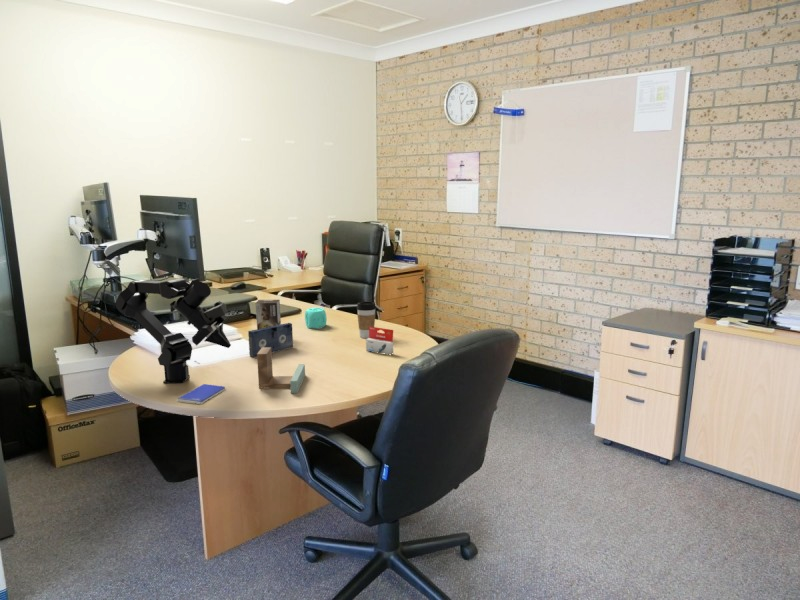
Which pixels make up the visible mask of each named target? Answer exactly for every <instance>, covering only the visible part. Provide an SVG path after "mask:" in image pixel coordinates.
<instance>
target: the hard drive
mask: <svg viewBox="0 0 800 600" xmlns="http://www.w3.org/2000/svg"><path fill="white" fill-rule="evenodd" d="M225 390H226V387H225V386H222V385H217V384H216V385H215V384H213V385H212V384H207V383H203V384H202V385H200V386H197V387H195V388H194V389H193V390H191V391H189V392H186V393H185V394H183V395H182V396H179V397H177V402H182V403H187V404H195V403H196V405H197V404H198V405H203V404H204V403H205V401H206V402H207V401H209V400H211V399H212V398H214V397H215V396H216V395H219V394H220V393H222V392H224V391H225ZM218 393H219V394H218ZM213 396H214V397H213ZM208 399H209V400H208ZM203 402H204V403H203Z"/></svg>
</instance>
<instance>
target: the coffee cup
mask: <svg viewBox="0 0 800 600" xmlns="http://www.w3.org/2000/svg"><path fill="white" fill-rule="evenodd" d="M376 309H377V306H376V302H373V301H360V302H357V305H356V310H357V322H358V331H359V338H361V337H362V339H368V338H369V326H370V327H375V323H376V321H375V320H376Z"/></svg>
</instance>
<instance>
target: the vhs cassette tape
mask: <svg viewBox="0 0 800 600" xmlns="http://www.w3.org/2000/svg"><path fill="white" fill-rule="evenodd" d="M247 333H248V335H247V336H248V345H249V346H248V350H249V357H252V358H257V353H258V352H259V351H260V349H261V348H262V347H271V351H272V354H273V353H276V352H277V353H278V352H280V351H284V350H288V349H292V348H294V340H293V339H294V338H293V337H294V336H293V323H291V322H287V323H281V325H276V326H271V327H266V328H261V329H257V328H256V329H251V330H248V332H247Z"/></svg>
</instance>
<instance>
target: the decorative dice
mask: <svg viewBox="0 0 800 600" xmlns="http://www.w3.org/2000/svg"><path fill="white" fill-rule="evenodd" d="M304 320H305V325H306V328H309V329H314V330H315V329H322V328H325V326H326V325H327V313H326V310H325V309H324V308H322V307H310V308H307V309H306V310H305V312H304Z"/></svg>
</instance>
